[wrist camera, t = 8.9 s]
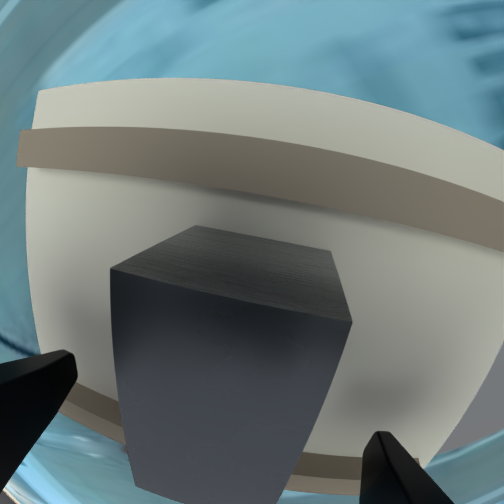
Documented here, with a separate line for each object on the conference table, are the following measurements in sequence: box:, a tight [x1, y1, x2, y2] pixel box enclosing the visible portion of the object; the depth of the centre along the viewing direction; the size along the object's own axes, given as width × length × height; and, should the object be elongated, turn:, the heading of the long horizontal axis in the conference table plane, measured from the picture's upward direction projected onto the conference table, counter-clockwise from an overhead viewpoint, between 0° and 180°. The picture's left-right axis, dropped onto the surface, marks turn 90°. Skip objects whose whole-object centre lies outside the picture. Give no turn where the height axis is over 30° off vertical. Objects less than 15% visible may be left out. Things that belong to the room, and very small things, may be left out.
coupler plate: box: [16, 78, 504, 495], centre depth 11 cm, size 22×18×3 cm
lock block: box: [110, 225, 353, 504], centre depth 9 cm, size 4×8×5 cm, turn 171°
